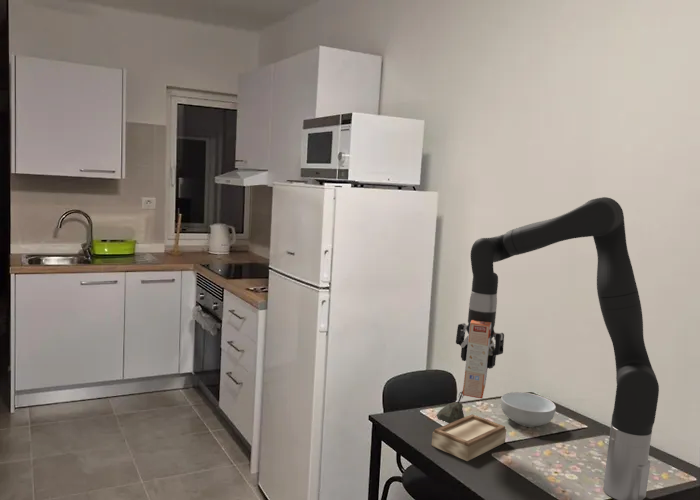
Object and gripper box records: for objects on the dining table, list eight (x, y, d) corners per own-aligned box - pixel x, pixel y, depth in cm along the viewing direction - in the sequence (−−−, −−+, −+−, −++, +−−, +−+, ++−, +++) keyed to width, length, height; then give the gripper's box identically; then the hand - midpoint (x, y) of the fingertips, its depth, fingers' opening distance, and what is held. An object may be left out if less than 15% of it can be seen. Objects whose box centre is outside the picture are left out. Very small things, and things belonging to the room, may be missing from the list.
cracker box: (483, 399, 167) (491, 325, 165) (461, 396, 169) (468, 322, 167) (487, 384, 181) (493, 315, 178) (466, 381, 182) (472, 312, 180)
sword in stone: (442, 424, 190) (445, 387, 189) (433, 416, 198) (435, 379, 197) (472, 424, 193) (475, 386, 192) (461, 415, 200) (464, 379, 199)
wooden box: (505, 442, 180) (506, 426, 179) (467, 461, 166) (468, 444, 165) (470, 428, 188) (471, 413, 188) (431, 445, 174) (432, 429, 173)
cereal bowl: (490, 421, 196) (492, 400, 195) (511, 408, 209) (513, 388, 208) (542, 437, 185) (545, 415, 185) (560, 422, 199) (563, 402, 198)
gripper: (512, 311, 170) (506, 368, 172) (468, 302, 180) (463, 355, 182) (498, 314, 165) (492, 373, 167) (453, 304, 174) (448, 359, 176)
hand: (477, 364), depth 174 cm, fingers closed on cracker box, 8 cm apart
